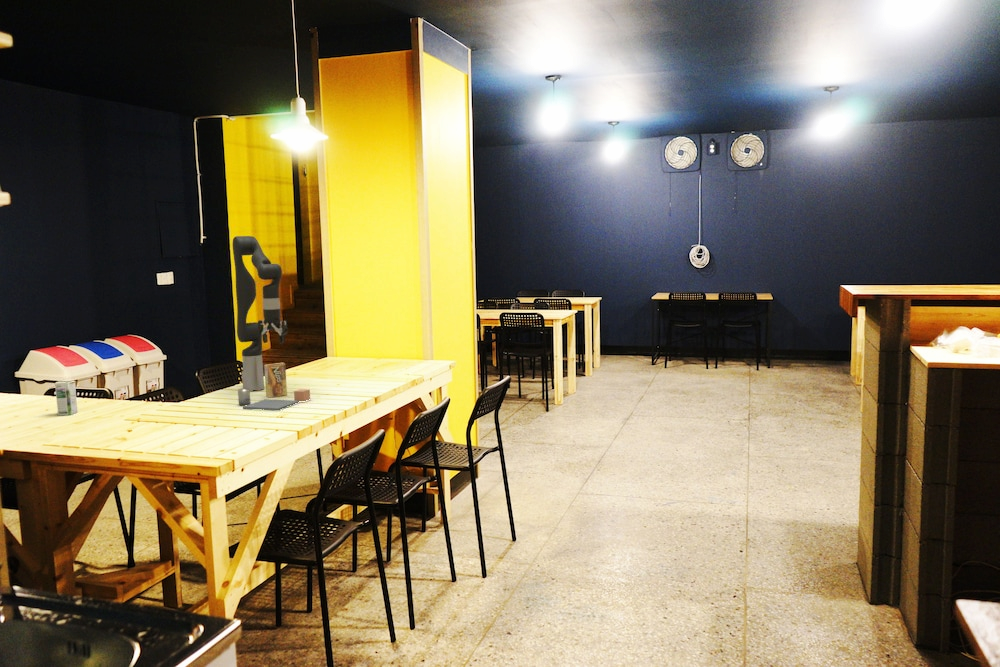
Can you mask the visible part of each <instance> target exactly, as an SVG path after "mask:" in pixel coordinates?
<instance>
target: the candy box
mask: <svg viewBox="0 0 1000 667" xmlns="http://www.w3.org/2000/svg"><path fill="white" fill-rule="evenodd" d="M263 370H264V386H265V395H266V398H269V397H271V398H276V397H275V396H277V397H282V396H281V395H284V396H287V395H288V386H287V371H286V363H285V362H275V363H269V364H263ZM286 394H287V395H286Z"/></svg>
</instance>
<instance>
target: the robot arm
mask: <svg viewBox="0 0 1000 667" xmlns="http://www.w3.org/2000/svg"><path fill="white" fill-rule="evenodd" d="M232 254H233V260H234V261H233V262H234V271H235V293H236V294H235V296H236V307H237V308H236V310H237V312H236V313H237V316H236V318H237V319H236V321H237V322H236V335H237V339H238V341H239V342H241V343H249V342H250V343H251V344H250V345H249V346H247V347H246V348H243V349H242V350H241V355H242V356H241V357H242V370H241V380H242V383H241V384H242V389H243V388H249V389H250V392H254V391H253V390H258V391H262V390H261V389H263V390H265V376H264V364H263V352H262V351H263V343H264V344H267V343H268V340H269V339H268V333H269V331H275V332H277V333H278V340H279V343H278V344H280V345H281V344H284V342H285V335H287V334H288V332H289V331H288V330H289V329H288V321H287V320H281V317H282V316H281V315H282V314H281V301H280V291H279V288H280V284H281V280H282V275H283V270H282V267H281V266H280V264H279V263H272V262H271V260H270V259H269V258H268V257H267V256H266V255H265V253H264V252H263V249H262V247H261V245H260V243H259V241H258V239H257V238H256V237H255V236H252V235H242V236H241V235H238V236H234V237H233V239H232ZM243 256H251V258H250V259H251V260H250V261H251V263H252V265H253V266H254V268H255V269H256V272H257V276H258V278H259V279H261V280H262V281H268V280H269V281H270V280H271V282H270V283H269V284H268V283H267V284H265V285H263V286H262V311H263V312H262V314H263V319H260V320H259V319H258V321H256V322H247V319H248V313H249V310H250V309H251V308H252V306H253V303H254V302H255V300H256V298H257V284H256V281H255V278H254V277H253V276H252V274H251V273H250V271H249V270H248V269H247V266H246V265H245V263H244V260H243Z"/></svg>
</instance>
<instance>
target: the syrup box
mask: <svg viewBox="0 0 1000 667" xmlns="http://www.w3.org/2000/svg"><path fill="white" fill-rule="evenodd" d="M54 387H55V397H56V407H57V416H73V415H74V414H77V413H78V404H77V403H78V402H77V391H76V382H75V380H59V381H56V382H55V383H54Z"/></svg>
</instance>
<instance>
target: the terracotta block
mask: <svg viewBox="0 0 1000 667" xmlns="http://www.w3.org/2000/svg"><path fill="white" fill-rule="evenodd" d="M310 390H311V389H308V388H307V389H304V388H299V389H296V390H294V391H293V396H294V400H295V401H306V400H309V399H310V400H311V392H310ZM310 400H309V401H310Z"/></svg>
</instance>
